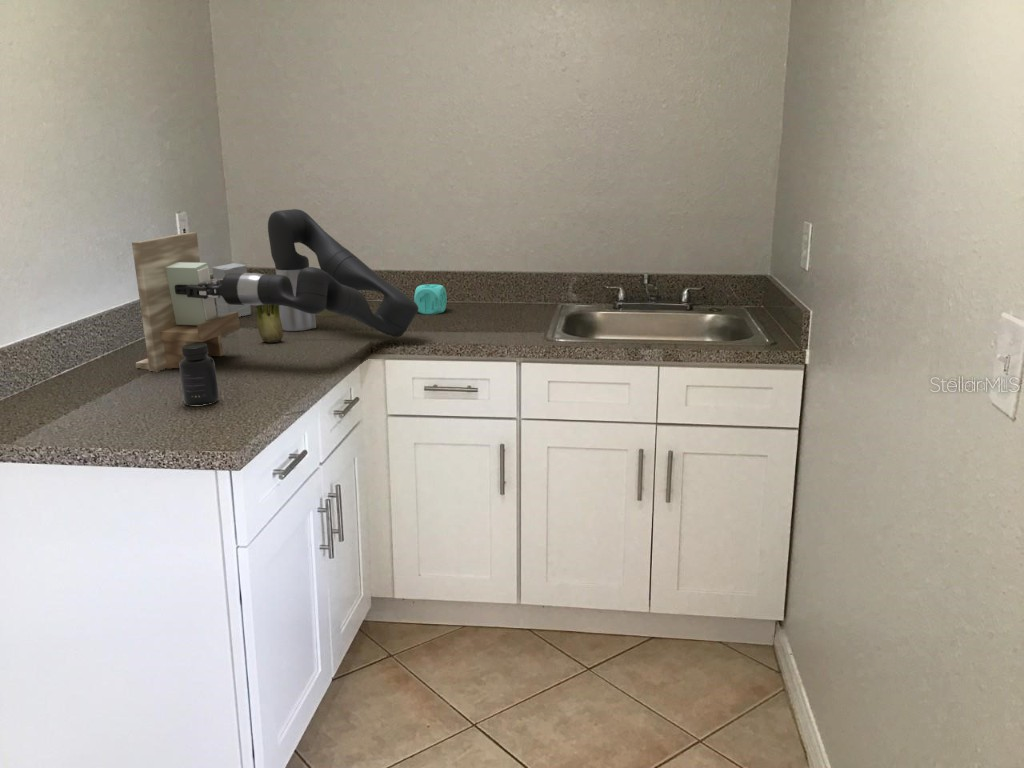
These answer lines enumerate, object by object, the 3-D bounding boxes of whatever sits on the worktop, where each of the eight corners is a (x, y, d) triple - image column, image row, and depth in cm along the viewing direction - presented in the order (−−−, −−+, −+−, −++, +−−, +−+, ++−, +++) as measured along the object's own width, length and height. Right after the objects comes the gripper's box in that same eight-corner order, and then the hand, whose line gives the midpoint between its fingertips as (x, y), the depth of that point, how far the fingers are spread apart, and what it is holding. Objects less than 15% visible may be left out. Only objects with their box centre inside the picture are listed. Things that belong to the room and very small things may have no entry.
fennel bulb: (257, 343, 225) (252, 298, 222) (268, 339, 229) (264, 295, 226) (276, 344, 223) (271, 299, 220) (286, 340, 227) (282, 296, 224)
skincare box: (238, 312, 266) (233, 262, 262) (253, 315, 262) (248, 264, 258) (215, 317, 260) (210, 265, 255) (230, 320, 256) (224, 267, 251)
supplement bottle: (189, 398, 177) (182, 342, 173) (222, 396, 177) (216, 340, 174) (179, 408, 170) (172, 350, 167) (214, 406, 171) (207, 348, 167)
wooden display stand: (249, 351, 215) (236, 232, 207) (199, 374, 195) (183, 243, 187) (186, 349, 220) (171, 232, 211) (131, 370, 199) (112, 242, 191)
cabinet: (218, 319, 206) (208, 262, 201) (207, 325, 202) (196, 268, 196) (188, 318, 208) (177, 262, 203) (176, 324, 204) (165, 267, 198)
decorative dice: (414, 314, 260) (413, 288, 258) (423, 309, 268) (421, 284, 265) (439, 314, 258) (438, 288, 256) (447, 309, 266) (446, 284, 264)
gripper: (232, 310, 193) (166, 308, 197) (264, 299, 206) (201, 297, 210) (229, 277, 191) (162, 276, 194) (261, 268, 204) (198, 267, 208)
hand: (183, 287), depth 202 cm, fingers closed on cabinet, 5 cm apart
